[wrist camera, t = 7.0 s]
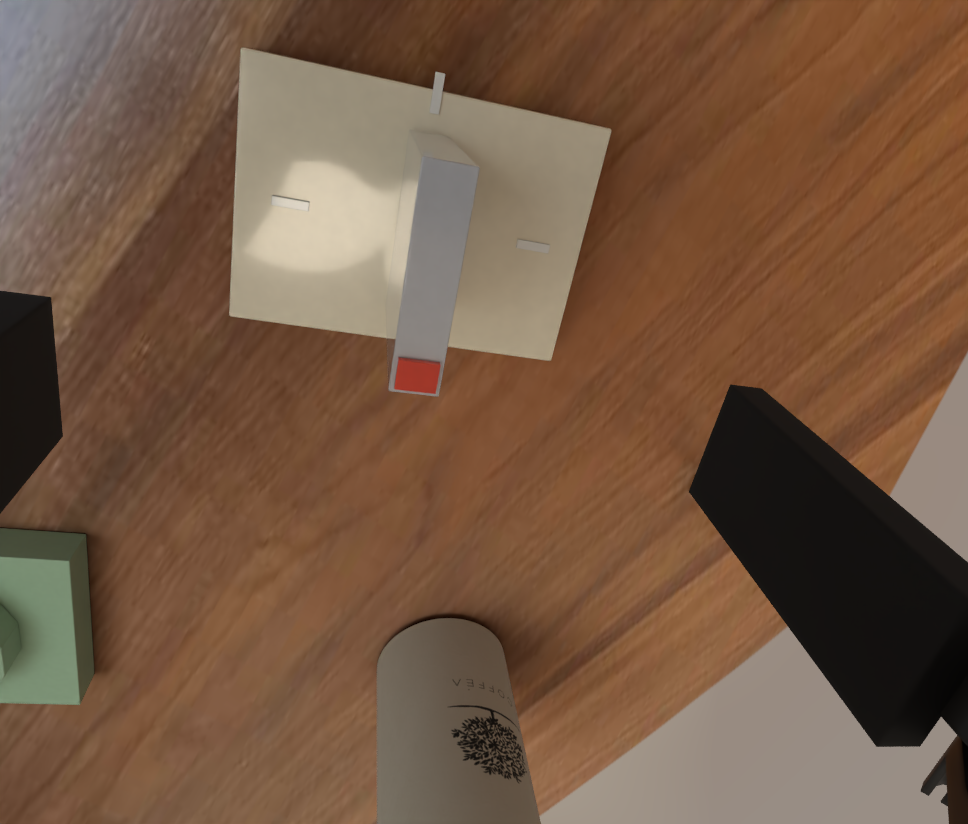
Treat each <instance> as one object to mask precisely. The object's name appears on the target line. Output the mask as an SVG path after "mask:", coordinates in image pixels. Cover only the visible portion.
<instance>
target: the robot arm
mask: <svg viewBox="0 0 968 824" xmlns="http://www.w3.org/2000/svg"><path fill="white" fill-rule="evenodd" d="M62 437H63V433H62V421H61V410H60V398H59V386H58V374H57V362H56V351H55V339H54V327H53V315H52V303H51V297H45V296H37V295H29V294H21V293H14V292H6V291H0V513H1V512H2V511H3V509H4V508H5V507H6V506H7V505H8V503H9V502H10V501H11V500H12V498H13V497H14V496H15V495H16V493H17V492H18V491H19V490H20V488H21V487H22V486H23V485H24V484H25V482H26V481H27V480H28V479H29V477H30V476H31V475H32V474H33V472H34V471H35V470H36V469H37V467H38V466H39V465H40V464H41V463H42V461H43V460H44V459H45V458H46V456H47V455H48V454H49V453H50V451H51V450H52V449H53V448H54V446H55V445H56V444H57V443H58V442H59V440H60V439H61V438H62ZM689 492H690V494H691V495H692V496H693V498H694V499H695V501H696V502H697V503H698V505H699V506H700V507H701V509H702V510H703V511H704V513H705V514H706V516H707V517H708V518H709V520H710V521H711V522H712V524H713V525H714V526H715V528H716V529H717V530H718V532H719V533H720V535H721V536H722V537H723V539H724V540H725V541H726V543H727V544H728V545H729V547H730V548H731V549H732V551H733V552H734V554H735V555H736V556H737V558H738V559H739V560H740V562H741V563H742V564H743V566H744V567H745V569H746V570H747V571H748V573H749V574H750V575H751V577H752V578H753V579H754V581H755V582H756V583H757V585H758V586H759V588H760V589H761V590H762V592H763V593H764V594H765V596H766V597H767V598H768V600H769V601H770V602H771V604H772V605H773V607H774V608H775V609H776V611H777V612H778V613H779V615H780V616H781V617H782V619H783V620H784V622H785V623H786V624H787V626H788V627H789V628H790V630H791V631H792V632H793V634H794V635H795V636H796V638H797V639H798V641H799V642H800V643H801V645H802V646H803V647H804V649H805V650H806V651H807V653H808V654H809V655H810V657H811V658H812V660H813V661H814V662H815V664H816V665H817V666H818V668H819V669H820V670H821V672H822V673H823V674H824V676H825V677H826V679H827V680H828V681H829V683H830V684H831V685H832V687H833V688H834V689H835V691H836V692H837V693H838V695H839V696H840V698H841V699H842V700H843V701H844V703H845V704H846V706H847V707H848V708H849V710H850V711H851V712H852V714H853V715H854V717H855V718H856V719H857V721H858V722H859V723H860V725H861V726H862V728H863V729H864V730H865V732H866V733H867V734H868V736H869V737H870V738H871V740H872V741H873V742H874V744H875V745H876V746H877V747H884V746H885V747H887V746H889V747H891V746H892V747H893V746H921V744H922V743H923V741H924V740H925V739H926V737H927V736H928V734H929V733H930V731H931V730H932V729H933V727H934V726H935V724H936V723H937V721H938V720H939V718H940V717H942V718H943V719H944V720H945V721H946V722H947V724H949V726H950V727H951V728H952V729H953V730H954V731H955V733H956V734H957V737H956V738H955V739H954V741H953V742H952V743H951V745H950V746H949V748H948V749H947V750H946V752H945V753H944V755H943V756H942V757H941V759H940V760H939V761H938V763H937V764H936V765H935V767H934V769H933V770H932V771H931V773H930V774H929V775H928V777H927V778H926V779H925V781H924V782H923V786H922V788H921V792H923V793H925V794H926V795H928V796H929V795H930V793H931V792H932V791H933V789H934V788H935V787H936V786H938V785H942V784H944V785H947V793H946V795H945V796H944V797H943V799H942V800H941V803H943V804H945V805H946V806H948V814H949V824H968V562H967V561H965V560H964V559H963V558H962V557H961V556H959V555H958V554H957V553H956V552H955V551H954V550H952V549H951V548H950V547H949V546H948V545H946V544H945V543H944V542H943V541H942V540H941V539H939V538H938V537H937V536H936V535H934V534H933V533H932V532H931V531H930V530H929V529H928V528H926V527H925V526H924V525H923V524H922V523H920V522H919V521H918V520H917V519H916V518H914V517H913V516H912V515H911V514H910V513H909V512H907V511H906V510H905V509H904V508H903V507H901V506H900V505H899V504H898V503H897V502H896V501H894V500H893V499H892V498H891V497H890V496H888V495H887V494H886V493H885V492H884V491H882V490H881V489H880V488H879V487H878V486H877V485H875V484H874V483H873V482H872V481H871V480H869V479H868V478H867V477H866V476H865V475H864V474H862V473H861V472H860V471H859V470H858V469H856V468H855V467H854V466H853V465H852V464H851V463H849V462H848V461H847V460H846V459H845V458H843V457H842V456H841V455H840V454H839V453H837V452H836V451H835V450H834V449H833V448H832V447H830V446H829V445H828V444H827V443H826V442H824V441H823V440H822V439H821V438H820V437H819V436H817V435H816V434H815V433H814V432H813V431H811V430H810V429H809V428H808V427H807V426H805V425H804V424H803V423H802V422H801V421H800V420H798V419H797V418H796V417H795V416H794V415H792V414H791V413H790V412H789V411H788V410H787V409H785V408H784V407H783V406H782V405H781V404H779V403H778V402H777V401H776V400H775V399H773V398H772V397H771V396H770V395H769V394H768V393H766V392H765V391H764V390H763V389H761V388H753V387H745V386H737V385H730V387H729V389H728V392H727V395H726V397H725V400H724V402H723V405H722V407H721V410H720V413H719V415H718V418H717V420H716V423H715V426H714V428H713V431H712V433H711V436H710V438H709V441H708V444H707V446H706V449H705V451H704V454H703V456H702V459H701V462H700V464H699V467H698V469H697V472H696V475H695V477H694V480H693V482H692V485H691V487H690V490H689Z"/></svg>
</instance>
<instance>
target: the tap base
mask: <svg viewBox="0 0 968 824" xmlns="http://www.w3.org/2000/svg"><path fill="white" fill-rule="evenodd" d="M444 79H445V74H444V73H440V72H435V78H434V84H433V88H430V87H426V86H421V85H417V84H412V83H408V82H403V81H399V80H394V79H390V78H385V77H381V76H376V75H372V74H367V73H363V72H358V71H354V70H349V69H345V68H340V67H335V66H331V65H326V64H322V63H317V62H313V61H308V60H304V59H299V58H295V57H290V56H286V55H281V54H277V53H272V52H268V51H263V50H259V49H253V48H245V47H242V48H241V49H240V70H239V93H238V117H237V140H236V164H235V187H234V210H233V234H232V257H231V281H230V304H229V315H230V316H232V317H239V318H246V319H253V320H260V321H267V322H274V323H282V324H289V325H296V326H303V327H310V328H317V329H324V330H332V331H339V332H346V333H353V334H360V335H367V336H374V337H382V338H387V335H386V306H385V304H386V297H387V289H388V282H389V274H390V267H391V260H392V252H393V245H394V237H395V230H396V222H397V215H398V207H399V200H400V193H401V185H402V178H403V170H404V163H405V155H406V148H407V140H408V133H409V130H410V129H411V130H416V131H421V132H426V133H431V134H437V135H442V136H447V137H450V138H451V139H452V140H453V141H454V142H455V143H456V144H457V145H458V146H459V147H460V148H461V149H462V150H463V151H464V152H465V153H466V154H467V155H468V156H469V157H470V158H471V159H472V160H473V161H474V162H475V163H476V164H477V165H478V166H479V168H480V171H479V176H478V182H477V187H476V193H475V198H474V204H473V209H472V215H471V221H470V226H469V232H468V237H467V243H466V248H465V254H464V259H463V265H462V270H461V276H460V282H459V287H458V293H457V298H456V304H455V309H454V315H453V320H452V326H451V331H450V337H449V342H448V347H453V348H460V349H467V350H474V351H482V352H489V353H496V354H503V355H510V356H517V357H524V358H532V359H539V360H546V361H551V359H552V355H553V351H554V348H555V344H556V340H557V336H558V332H559V329H560V325H561V321H562V317H563V313H564V310H565V306H566V302H567V298H568V294H569V291H570V287H571V283H572V279H573V275H574V272H575V268H576V264H577V260H578V257H579V253H580V249H581V245H582V241H583V238H584V234H585V230H586V226H587V222H588V219H589V215H590V211H591V207H592V203H593V200H594V196H595V192H596V188H597V184H598V181H599V177H600V173H601V169H602V165H603V162H604V158H605V154H606V150H607V146H608V143H609V139H610V135H611V129H610V128H606V127H603V126H599V125H596V124H592V123H588V122H583V121H579V120H574V119H570V118H565V117H561V116H556V115H552V114H547V113H543V112H538V111H534V110H529V109H525V108H520V107H516V106H511V105H507V104H502V103H498V102H493V101H489V100H484V99H480V98H475V97H471V96H466V95H462V94H457V93H453V92H448V91H444V90H443V86H444Z"/></svg>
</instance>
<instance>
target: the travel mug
mask: <svg viewBox="0 0 968 824" xmlns="http://www.w3.org/2000/svg"><path fill="white" fill-rule="evenodd" d="M377 824H541V822H540V818H539V813H538V808H537V804H536V799H535V795H534V790H533V785H532V781H531V776H530V771H529V767H528V762H527V758H526V753H525V748H524V744H523V739H522V734H521V730H520V725H519V720H518V716H517V711H516V707H515V702H514V697H513V693H512V688H511V683H510V679H509V674H508V670H507V665H506V660H505V656H504V651H503V648H502V645H501V643H500V642H499V640H498V639H497V637H496V636H495V635H494V634H493V633H492V632H491V631H489V630H488V629H486V628H485V627H483V626H481V625H479V624H477V623H474V622H471V621H468V620H463V619H456V618H442V619H434V620H429V621H425V622H421V623H418V624H416V625H413V626H411V627H409V628H407V629H405V630H404V631H402V632H400V633H399V634H398V635H396V636H395V637H394V638H393V639H392V640H391V641H390V642H389V643H388V644H387V645H386V646H385V648H384V649H383V651H382V653H381V655H380V657H379V660H378V664H377Z"/></svg>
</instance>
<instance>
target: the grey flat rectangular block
mask: <svg viewBox="0 0 968 824" xmlns="http://www.w3.org/2000/svg"><path fill="white" fill-rule="evenodd" d="M479 171H480V168H479V166H478V165H477V164H476V163H475V162H474V161H473V160H472V159H471V158H470V157H469V156H468V155H467V154H466V153H465V152H464V151H463V150H462V149H461V148H460V147H459V146H458V145H457V144H456V143H455V142H454V141H453V140H452V139H451V138H450V137H447V136H442V135H437V134H431V133H426V132H421V131H416V130H411V129H410V130H409V133H408V140H407V148H406V155H405V163H404V170H403V178H402V185H401V193H400V200H399V207H398V215H397V222H396V230H395V237H394V245H393V252H392V260H391V267H390V274H389V282H388V289H387V297H386V304H385V306H386V335H387V364H388V390H389V391H393V392H402V393H411V394H420V395H428V396H439V392H440V387H441V381H442V376H443V370H444V365H445V359H446V354H447V348H448V342H449V337H450V331H451V326H452V320H453V315H454V309H455V304H456V298H457V293H458V287H459V282H460V276H461V270H462V265H463V259H464V254H465V248H466V243H467V237H468V232H469V226H470V221H471V215H472V209H473V204H474V198H475V193H476V187H477V182H478V176H479Z"/></svg>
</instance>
